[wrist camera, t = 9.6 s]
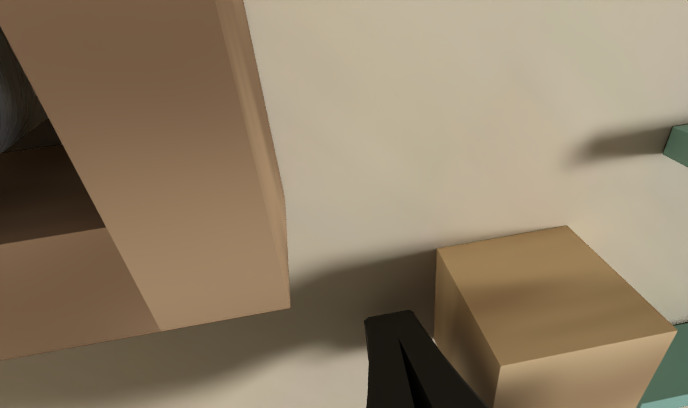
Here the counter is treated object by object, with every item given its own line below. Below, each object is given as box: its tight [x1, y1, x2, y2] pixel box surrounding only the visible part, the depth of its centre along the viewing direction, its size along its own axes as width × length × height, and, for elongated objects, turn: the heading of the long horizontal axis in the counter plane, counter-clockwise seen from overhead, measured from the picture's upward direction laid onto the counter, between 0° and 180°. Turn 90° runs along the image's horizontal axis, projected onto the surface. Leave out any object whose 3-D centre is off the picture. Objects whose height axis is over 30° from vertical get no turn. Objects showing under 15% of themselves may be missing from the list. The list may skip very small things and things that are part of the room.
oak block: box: [434, 225, 678, 408], centre depth 11 cm, size 4×4×4 cm
